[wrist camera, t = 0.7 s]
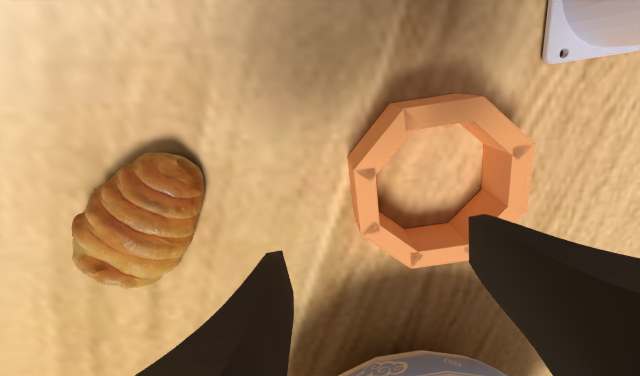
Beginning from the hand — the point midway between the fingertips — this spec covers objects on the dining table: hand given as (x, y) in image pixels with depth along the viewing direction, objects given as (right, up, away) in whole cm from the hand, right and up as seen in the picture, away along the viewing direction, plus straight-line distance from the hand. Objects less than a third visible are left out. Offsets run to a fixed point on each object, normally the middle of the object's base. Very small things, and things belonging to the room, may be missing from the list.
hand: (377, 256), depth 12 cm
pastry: (-14, +1, +10) cm, 17 cm away
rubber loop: (+5, +3, +9) cm, 11 cm away
